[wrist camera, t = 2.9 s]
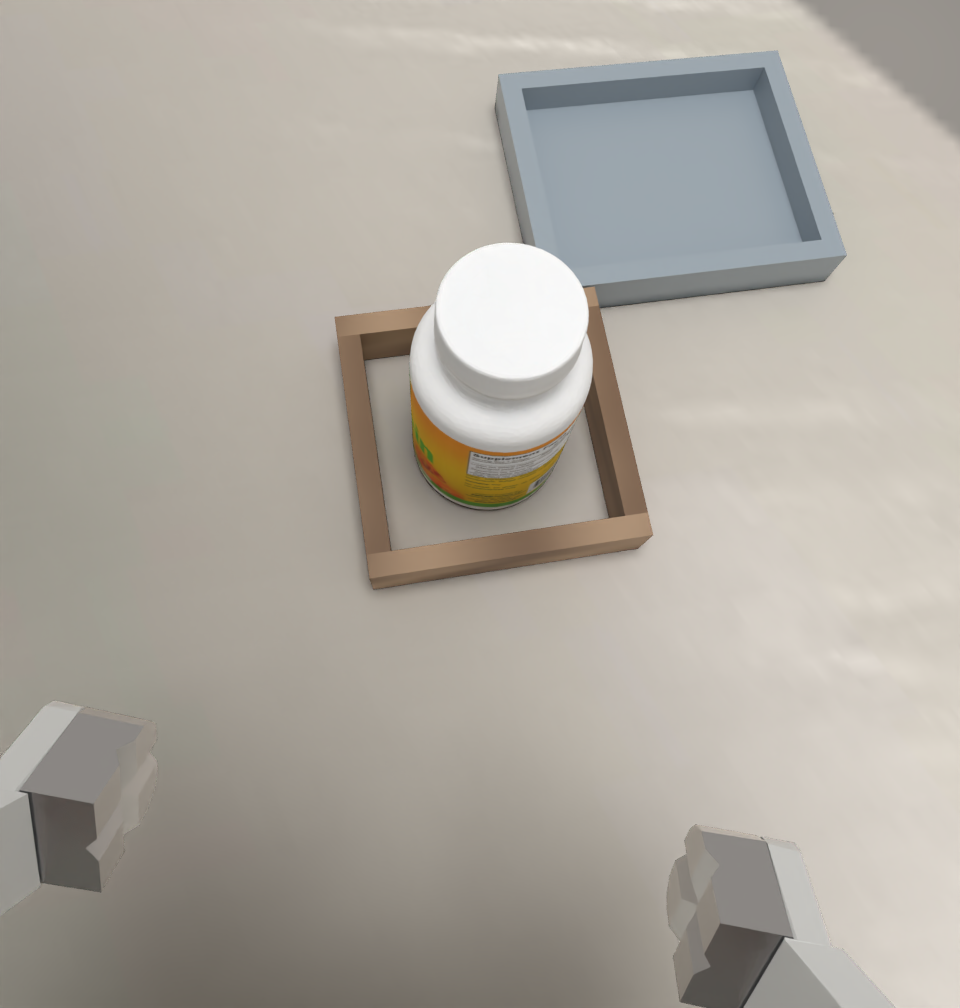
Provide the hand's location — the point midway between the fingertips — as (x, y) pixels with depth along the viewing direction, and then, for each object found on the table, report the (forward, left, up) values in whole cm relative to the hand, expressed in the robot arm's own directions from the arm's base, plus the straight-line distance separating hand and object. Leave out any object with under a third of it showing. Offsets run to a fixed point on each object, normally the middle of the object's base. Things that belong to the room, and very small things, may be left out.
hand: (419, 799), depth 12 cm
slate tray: (+13, +21, -15) cm, 29 cm away
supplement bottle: (+4, +11, -15) cm, 19 cm away
